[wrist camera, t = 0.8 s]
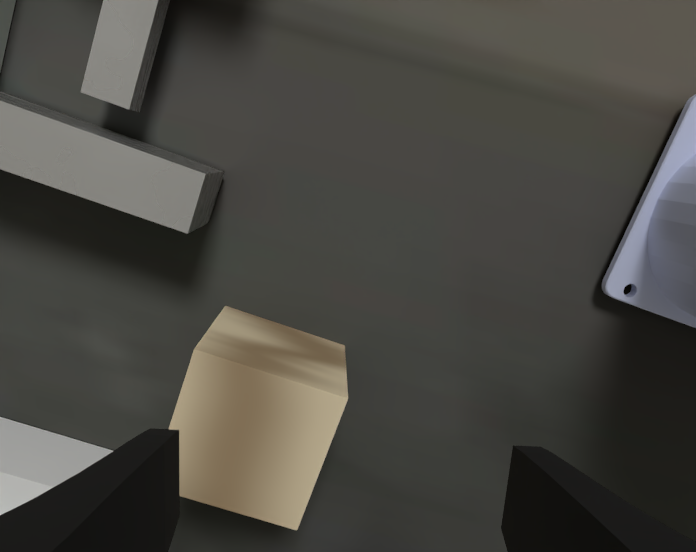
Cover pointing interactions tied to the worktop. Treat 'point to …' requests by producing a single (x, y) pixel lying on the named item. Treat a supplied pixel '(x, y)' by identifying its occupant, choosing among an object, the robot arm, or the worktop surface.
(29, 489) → the vise
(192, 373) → the maple block
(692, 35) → the worktop surface
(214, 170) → the vise jaw
